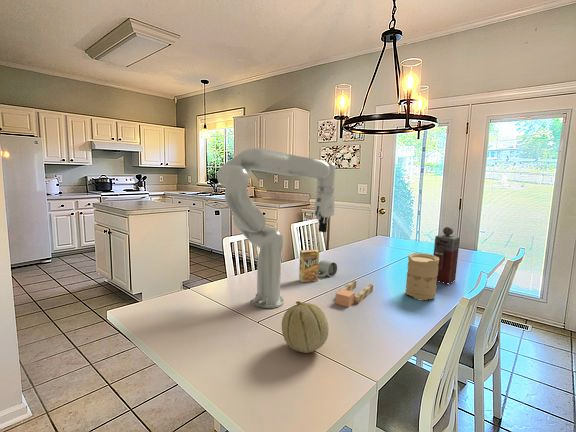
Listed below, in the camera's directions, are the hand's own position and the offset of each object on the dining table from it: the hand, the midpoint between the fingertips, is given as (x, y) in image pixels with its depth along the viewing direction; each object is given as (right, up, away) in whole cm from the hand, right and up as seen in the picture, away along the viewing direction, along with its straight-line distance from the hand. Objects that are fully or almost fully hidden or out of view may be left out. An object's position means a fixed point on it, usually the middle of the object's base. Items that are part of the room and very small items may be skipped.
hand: (322, 231), depth 146 cm
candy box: (-5, -25, +17) cm, 31 cm away
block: (+8, -30, -9) cm, 32 cm away
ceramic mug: (+4, -24, +26) cm, 36 cm away
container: (+44, -29, +1) cm, 53 cm away
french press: (+63, -26, +21) cm, 72 cm away
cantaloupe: (-10, -35, -44) cm, 57 cm away
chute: (+15, -28, 0) cm, 32 cm away
